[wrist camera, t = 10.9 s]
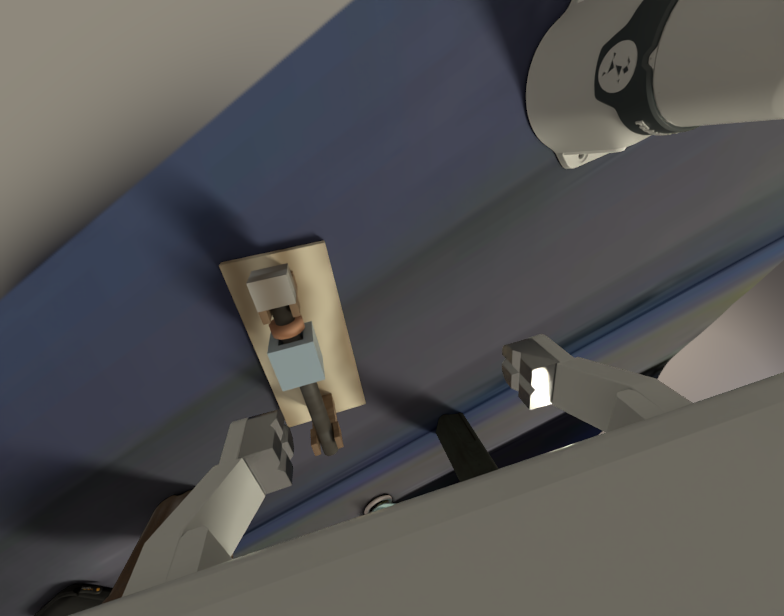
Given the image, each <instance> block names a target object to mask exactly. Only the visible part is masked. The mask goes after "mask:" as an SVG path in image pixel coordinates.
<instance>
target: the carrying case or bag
mask: <svg viewBox="0 0 784 616" xmlns="http://www.w3.org/2000/svg"><path fill="white" fill-rule="evenodd" d="M111 591H112V590H111V589H105V588H103V587H102V586H87V585H79V584H77V585H72V586H69V587H67V588H66V589H65V590H63V591H61V592H60V593H59V594H57V595H56V596H55V597H54V598H53V599H52V600H51V601H50V602H48V603H47V604H46V605H45V606H44V607H43V608H42V609H41V610H40V611H38V612H37V613H36V614H35V615H34V616H68V615H71V614H74V613H77V612H80V611H83V610H86V609H89V608H92V607H95V606H98V605H101V604H102V603H103V601H104V600H105V599H106V598H107V597H108V596H109V595H110V593H111Z"/></svg>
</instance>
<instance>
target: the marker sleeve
mask: <svg viewBox="0 0 784 616" xmlns="http://www.w3.org/2000/svg"><path fill="white" fill-rule="evenodd" d="M304 325H305V328H304V330H303V331H302V332H301V333H300V334H301V337H302V340H298V341H295V342H291V343H287V344H283V342H282V340H279V339H275V338H273V336H272V333H270V339H269V345H268V352H267V355H268V357H269V360H270V362H271V364H272V367H273V369H274V372H275V374H276V377H277V379H278V381H279V384H280V386H281V389H282V391H287V390H290V389H293V388H297V387H300V386H304V385H307V384H311V383H314V382H318V381H321V380H325V372H324V364H323V356H322V353H321V350H320V346H319V343H318V340H317V337H316V334H315V330H314V327H313V324H312V321H310V322H306V323H304Z"/></svg>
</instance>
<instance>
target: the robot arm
mask: <svg viewBox="0 0 784 616" xmlns="http://www.w3.org/2000/svg"><path fill="white" fill-rule="evenodd" d="M526 107H527V113H528V118H529V121H530V124H531V126H532V129H533V131H534V132H535V134H536V136H537V137H538V138H539V139H540V141H541V142H542V143H544V144H545V145H546V146H548V147H549V148H550V149H552V150H553V151H554V152H555V153H556V155H557V158H558V160H559V162H560V163H561V165H562V166H563V168H565V169H571V168H576V167H578V166H580V165H583V164H585V163H587V162H589V161H592V160H594V159H596V158H599V157H601V156H603V155H605V154H608V153H610V152H620V151H624V150H625V148H626V147H627V146H630V145H633V144H635V143H637V142H639V141H641V140H643V139H645V138H647V137H649V136H651V135H671V134H676V133H679V132H686V131H689V130H693V129H695V128H697V127H699V126H702V125H715V124H727V123H739V122H752V121H764V120H777V119H784V0H572V1H571V3H570V5H569V7H568V9H567V10H566V11H565V13H564V14H563V15H562V16H561V17H560V18H559V19H558V20H557V21H556V22H555V23H554V24H553V25H552V26H551V28H550V29H549V30H548V31H547V33H546V34H545V36H544V37H543V39H542V41H541V42H540V44H539V46H538V48H537V50H536V52H535V55H534V57H533V60H532V63H531V66H530V70H529V74H528V79H527V86H526ZM579 154H580V156H579ZM502 355H503V356H504V357H505V358H506V359H505V360H504V362H503V363H502V372H503V375H504V378H505V380H506V382H507V384H508V385H509V386H510V387H511V388H512V389H514V390H517V391H519V394H518V397H519V398H520V399H521V400H522V401H523V403H524V404H525V405H526V406H527V407H528V408H529V410H531V409H534V408H538V407H541V406H545V405H548V404H552V405H553V406H555V407H557V408H559V409H561V410H563V411H565V412H567V413H569V414H571V415H573V416H575V417H577V418H579V419H581V420H583V421H585V422H587V423H589V424H591V425H593V426H595V427H597V428H599V429H601V430H602V431H604V432H606V433H604V434H601V435H598V436H595V437H592V438H589V439H586V440H583V441H580V442H577V443H574V444H571V445H569V446H566V447H563V448H560V449H557V450H554V451H551V452H548V453H545V454H542V455H539V456H536V457H533V458H530V459H527V460H524V461H521V462H519V463H516V464H513V465H510V466H507V467H504V468H501V469H498V470H495V471H492V472H489V473H486V474H483V475H480V476H477V477H475V478H472V479H469V480H466V481H463V482H460V483H457V484H454V485H451V486H448V487H445V488H442V489H439V490H436V491H433V492H430V493H427V494H424V495H421V496H418V497H416V498H413V499H410V500H407V501H404V502H401V503H398V504H395V505H392V506H389V507H386V508H383V509H380V510H377V511H374V512H371V513H368V514H365V515H362V516H360V517H357V518H354V519H351V520H348V521H345V522H342V523H339V524H336V525H333V526H330V527H327V528H324V529H321V530H318V531H315V532H312V533H309V534H307V535H304V536H301V537H298V538H295V539H292V540H289V541H286V542H283V543H280V544H277V545H274V546H271V547H268V548H265V549H262V550H259V551H256V552H254V553H251V554H248V555H245V556H242V557H239V558H236V559H232V558H231V556H232V554H233V552H234V550H235V548H236V547H237V545H238V543H239V541H240V540H241V538H242V536H243V534H244V533H245V531H246V529H247V527H248V526H249V524H250V522H251V520H252V519H253V517H254V515H255V513H256V512H257V510H258V508H259V506H260V505H261V503H262V501H263V499H264V497H265V494H268V493H271V492H274V491H277V490H280V489H282V488H285V487H288V486H291V485H292V476H293V465H292V463H291V461H290V459H291V458H292V456H293V455H294V444H293V437H292V433H291V431H290V428H289V426H287V425H285V424H284V415H283V413H282V411H281V410H279V409H278V410H274V411H271V412H267V413H263V414H259V415H255V416H251V417H249V418H245V419H241V420H237V421H233V422H232V424H231V425H230V427H229V431H228V434H227V438H226V441H225V445H224V448H223V452H222V455H221V458H220V462H219V465H216V466H214V467H213V468H212V469H211V470H210V471H209V472H208V473H207V474H206V475H205V477H204V478H203V479H202V480H201V481H200V482H199V483H198V484H197V485H196V487H195V488H194V489H193V490H192V491H191V492H190V493H189V494H188V495H187V497H186V498H185V499H184V500H183V501H182V502H181V503H180V504H179V506H178V507H177V508H176V509H175V510H174V511H173V512H172V513H171V514H170V516H169V517H168V518H167V519H166V520H165V521H164V522H163V523H162V524H161V526H160V527H159V528H158V529H157V530H156V531H155V532H154V533H153V534H152V536H151V537H150V538H149V539H148V540H147V541H146V542H145V544H144V546H143V548H142V551H141V553H140V555H139V558H138V560H137V563H136V565H135V567H134V570H133V572H132V574H131V577H130V579H129V582H128V584H127V586H126V589H125V591H124V593H123V596H122V597H121V598H118V599H115V600H112V601H109V602H106V603H103V604H101V605H98V606H95V607H92V608H89V609H86V610H83V611H80V612H77V613H74V614H71V615H68V616H784V372H783V373H780V374H777V375H774V376H771V377H769V378H766V379H763V380H760V381H757V382H754V383H751V384H748V385H745V386H742V387H739V388H736V389H734V390H731V391H728V392H725V393H722V394H719V395H716V396H713V397H710V398H707V399H704V400H702V401H698V402H696V403H692V402H690V401H689V400H687V399H686V398H684V397H683V396H681V395H680V394H678V393H677V392H675V391H674V390H672V389H671V388H669V387H668V386H666V385H665V384H663V383H662V382H660V381H659V380H657V379H655V378H651V377H648V376H644V375H640V374H637V373H633V372H630V371H626V370H623V369H619V368H616V367H612V366H608V365H605V364H601V363H598V362H594V361H591V360H587V359H583V358H580V357H577V358H574V357H572V356H571V355H570V354H568V353H567V352H566V351H565V350H563V349H562V348H561V347H559V346H558V345H557V344H556V343H554V342H553V341H552V340H551V339H549V338H548V337H547V336H545V335H543V334H540V335H537V336H533V337H530V338H528V339H524V340H521V341H517V342H514V343H510V344H507V345H504V346H503V349H502Z"/></svg>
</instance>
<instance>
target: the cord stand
mask: <svg viewBox="0 0 784 616" xmlns="http://www.w3.org/2000/svg"><path fill="white" fill-rule="evenodd" d="M219 267H220V270H221V272H222V274H223V277H224V279H225V281H226V284H227V286H228V288H229V291H230V293H231V295H232V298H233V300H234V302H235V305H236V307H237V309H238V312H239V314H240V316H241V319H242V321H243V323H244V325H245V328H246V330H247V332H248V335H249V337H250V339H251V342H252V344H253V346H254V349H255V351H256V353H257V356H258V358H259V360H260V363H261V365H262V367H263V370H264V372H265V374H266V376H267V379H268V381H269V383H270V386H271V388H272V390H273V393H274V395H275V397H276V400H277V402H278V404H279V407H280V409H281V411H282V413H283V415H284V418H285V421H286V423H287V425H288V426H289V427H292V426H295V425H298V424H302V423H305V422H308V421H311V420H312V422H313V429H311V446H312V449H313V451H314V454H315V456H317V455H320V454H321V448H320V443H321V446H322V449H323V451H324V454H325V455H327V456H331V455H334V454H335V453H336V452H337V451H338V449H339V448H342V447H343V441H342V435H341V430H340V427H339V424H338V421H337V416H336V413H337V412H340V411H344V410H347V409H350V408H353V407H357V406H360V405H363V404H366V403H365V399H364V395H363V391H362V387H361V383H360V379H359V375H358V371H357V367H356V363H355V359H354V355H353V351H352V347H351V343H350V340H349V336H348V332H347V328H346V324H345V320H344V316H343V312H342V308H341V304H340V300H339V296H338V292H337V288H336V284H335V281H334V277H333V273H332V269H331V265H330V261H329V257H328V253H327V249H326V245H325V241H324V240H323V241H319V242H314V243H309V244H305V245H300V246H295V247H291V248H286V249H281V250H277V251H272V252H267V253H263V254H258V255H253V256H249V257H244V258H239V259H235V260H230V261H226V262H221V263H220V265H219ZM310 321H312V324H313V327H314V330H315V334H316V337H317V340H318V343H319V346H320V350H321V353H322V356H323V364H324V372H325V380H321V381H318V382H314V383H311V384H307V385H304V386H300V387H297V388H293V389H290V390H287V391H282V389H281V386H280V384H279V381H278V379H277V377H276V374H275V372H274V369H273V367H272V364H271V362H270V360H269V357H268V355H267V352H268V345H269V339H270V333H272V336H273V338H275V339H279V340H282V342H283V344H287V343H291V342H295V341H298V340H302V337H301V334H300V333H301V332H302V331H303V330H304V328H305V325H304V323H306V322H310Z"/></svg>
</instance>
